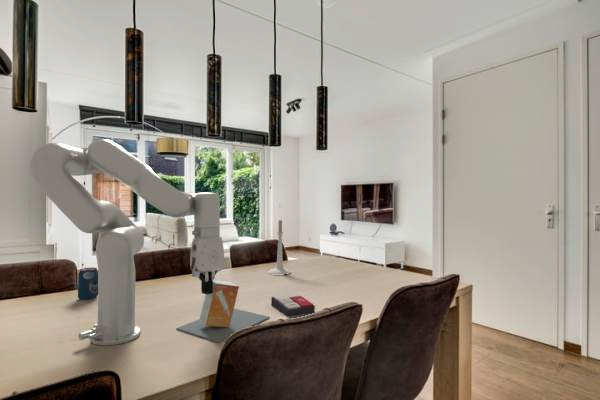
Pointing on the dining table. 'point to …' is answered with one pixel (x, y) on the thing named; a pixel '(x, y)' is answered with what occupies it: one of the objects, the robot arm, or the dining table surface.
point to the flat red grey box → (292, 304)
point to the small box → (219, 304)
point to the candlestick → (279, 255)
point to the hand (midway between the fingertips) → (207, 293)
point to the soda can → (87, 284)
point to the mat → (222, 333)
